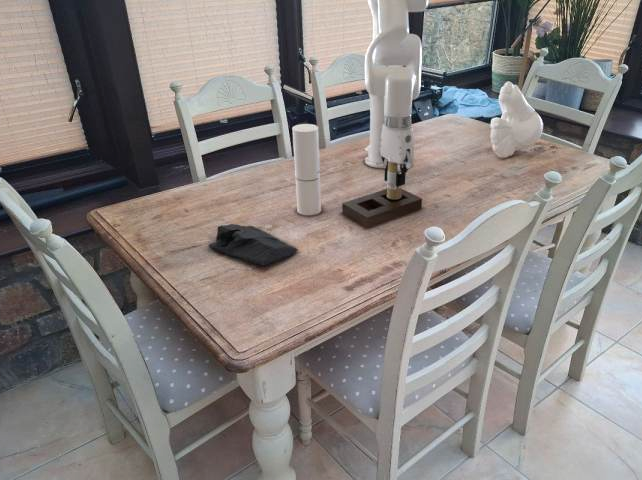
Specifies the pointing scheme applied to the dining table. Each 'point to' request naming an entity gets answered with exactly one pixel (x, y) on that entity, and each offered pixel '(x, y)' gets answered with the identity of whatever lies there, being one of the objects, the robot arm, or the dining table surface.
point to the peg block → (380, 207)
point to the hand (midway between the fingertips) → (394, 182)
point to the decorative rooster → (514, 123)
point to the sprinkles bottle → (392, 181)
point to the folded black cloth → (250, 244)
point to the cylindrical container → (307, 168)
